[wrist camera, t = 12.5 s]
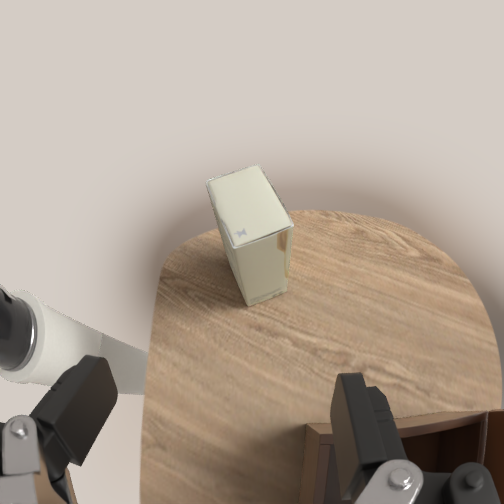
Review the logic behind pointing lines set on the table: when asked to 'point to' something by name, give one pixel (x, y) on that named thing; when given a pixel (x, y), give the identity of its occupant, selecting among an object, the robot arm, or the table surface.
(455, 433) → the chest
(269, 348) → the table surface
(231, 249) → the cosmetic box
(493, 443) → the lid
